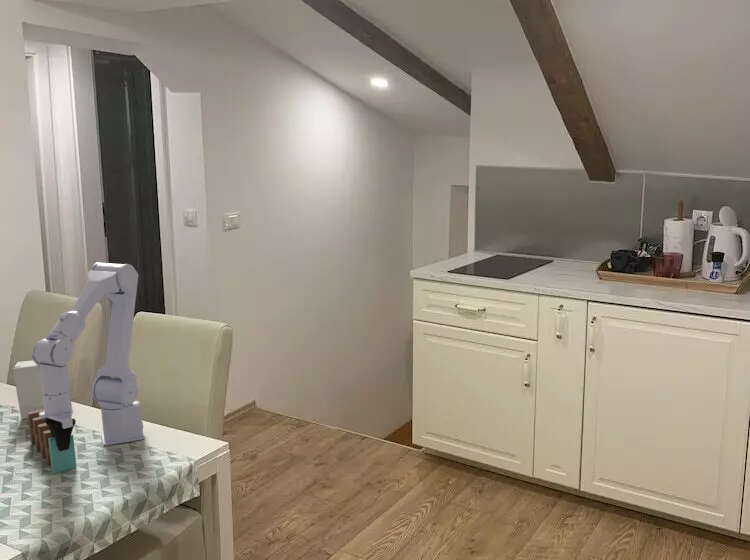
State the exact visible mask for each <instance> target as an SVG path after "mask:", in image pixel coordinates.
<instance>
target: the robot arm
mask: <svg viewBox="0 0 750 560" xmlns="http://www.w3.org/2000/svg"><path fill="white" fill-rule="evenodd" d="M86 279H87V282H86V284H85V286H84V288H83V289H82V291H81V293H80V294H79V297H77V300H76V302H75V303H74V305H73V307H72V308H71V310H70V311H65V312H63V313H61V314H60V315H59V317H58V320H57V321H56V322H55V324H54V326H53V327H52V328H51V330H50V331H49V332H48V334H47V335H46V337H45V338H42V339H40V340H39V341H37V342H36V343H35V345H34V347H33V349H32V353H31V355H30V356H31V360H33V361H34V362H35V363H36V364H37V369H38V370H39V372H40V376H41V385H42V393H43V402H44V412H40V413H39V416H40V417H41V418H44V419H43V420H44V421H45V423H46V424H47V426H48V427H49V429H50V432H51V434H52V437H55V440H56V444H57V447H58V449H59V451H63V450H67V449H69V446H70V439H71V433H72V434H73V429H74V427H75V425H76V419H75V418H74V417H73V413H74V407H73V406H72V396H71V386H70V378H69V376H70V375H69V369H68V363H69V362H70V361H71V360H72V358H73V357H72V356H73V350H74V348H75V343H76V341H77V340H78V338H79V337H80V336H81V334H82V332H83V331H84V329H85V328H86V326H87V325H86V324H87V323H86V320H85V319H86V318H87V316H89V313H90V312H92V310H93V309H94V308H95V306H96V305H97V304H98V302H99V301H100V300H101V299H102V297H104V296H107V298H109V300H110V301H111V303H112V304H111V311H110V320H109V330H108V338H107V339H108V340H107V348H106V356H105V365H103V366H102V367H101V368H100V369H98V370H97V371H96V374H95V379H94V381H93V384H92V387H91V393H92V398H93V399H94V400H95V401H96V402H97V405H98V406H100V411H101V412H100V413H101V422H102V432H101V439H102V445H103V446H104V447H107V446H111V445H112V446H113V445H117V444H123V443H129V442H135V441H141V440H143V439H144V431H143V430H144V424H143V423H144V422H143V420H142V417H143V416H142V408H141V402H140V400H136V399H137V397H138V390H139V389H138V383H137V374H136V372H134V371H133V370H132V369H131V368H130V366H129V360H130V354H131V353H130V352H131V343H132V337H133V335H132V334H133V324H134V315H135V306H136V299H137V290H138V282H139V273H138V272H137V271H136V269H135V267H134V266H133V264H129V263H124V264H123V263H110V262H109V263H108V262H103V261H102V262H101V261H98V262H95V263H94V264H93V265H92V266H91V268H90V270H89V271H88V272H87V273H86ZM45 417H46V418H45Z"/></svg>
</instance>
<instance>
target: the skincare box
mask: <svg viewBox="0 0 750 560" xmlns="http://www.w3.org/2000/svg"><path fill="white" fill-rule="evenodd" d="M12 374H13V378H14V384H15V389H16V396H17V403H18V408H19V413H20V414H19V415H20V419H21V420H26V419H27V420H28V414H27V412H32V411H36V410H41V409H44V402H43V393H42V385H41V376H40V372H39V370H38V369H37V364H36V363H35V362H34V361H33V359H31V360H26V361H17V362H16V364H15V365H14V366H13V368H12Z"/></svg>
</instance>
